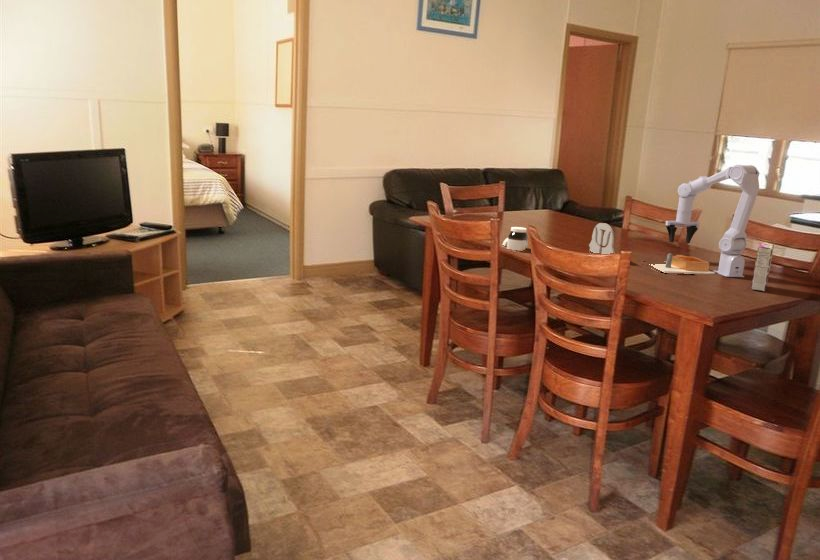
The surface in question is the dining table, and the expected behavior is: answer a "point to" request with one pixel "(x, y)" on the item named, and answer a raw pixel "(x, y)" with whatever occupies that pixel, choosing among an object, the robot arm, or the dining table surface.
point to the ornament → (598, 238)
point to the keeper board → (676, 268)
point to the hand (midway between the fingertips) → (679, 242)
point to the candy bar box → (762, 267)
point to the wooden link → (689, 263)
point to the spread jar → (517, 239)
